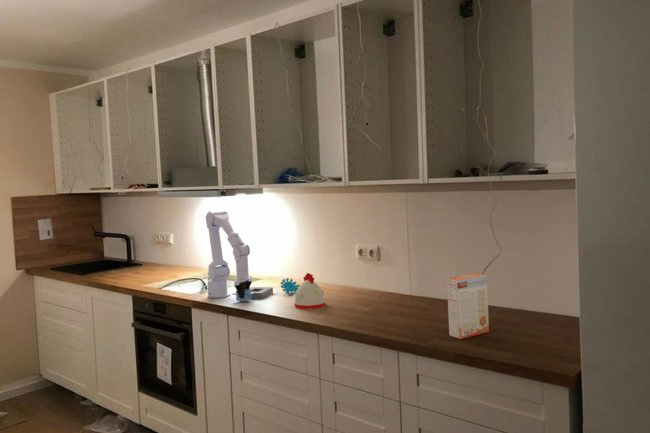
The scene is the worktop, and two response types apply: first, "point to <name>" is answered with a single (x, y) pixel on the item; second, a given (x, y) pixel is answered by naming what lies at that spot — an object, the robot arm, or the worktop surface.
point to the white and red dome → (309, 294)
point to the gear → (289, 286)
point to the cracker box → (467, 305)
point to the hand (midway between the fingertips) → (243, 297)
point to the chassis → (261, 292)
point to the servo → (246, 295)
